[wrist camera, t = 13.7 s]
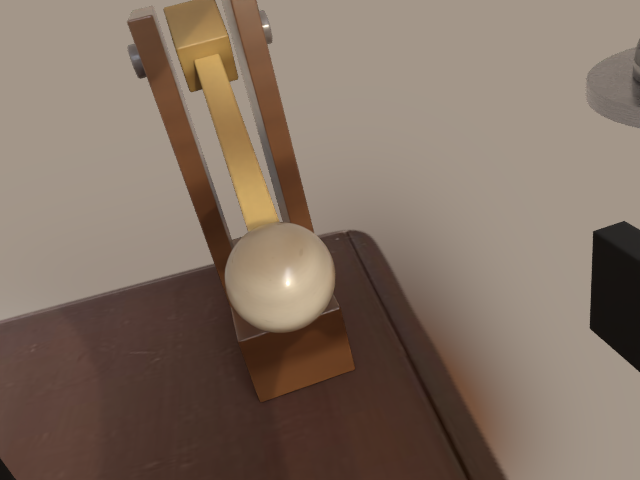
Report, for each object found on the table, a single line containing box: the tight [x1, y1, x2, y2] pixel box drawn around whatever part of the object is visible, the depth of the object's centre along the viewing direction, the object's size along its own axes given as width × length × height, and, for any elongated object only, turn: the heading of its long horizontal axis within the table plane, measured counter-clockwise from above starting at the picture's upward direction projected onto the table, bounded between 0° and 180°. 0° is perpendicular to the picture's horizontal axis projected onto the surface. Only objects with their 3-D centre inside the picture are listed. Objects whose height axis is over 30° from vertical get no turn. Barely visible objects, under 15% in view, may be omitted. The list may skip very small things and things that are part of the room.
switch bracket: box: [127, 0, 355, 402], centre depth 28 cm, size 10×6×18 cm, turn 15°
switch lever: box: [164, 0, 335, 333], centre depth 21 cm, size 15×4×4 cm
